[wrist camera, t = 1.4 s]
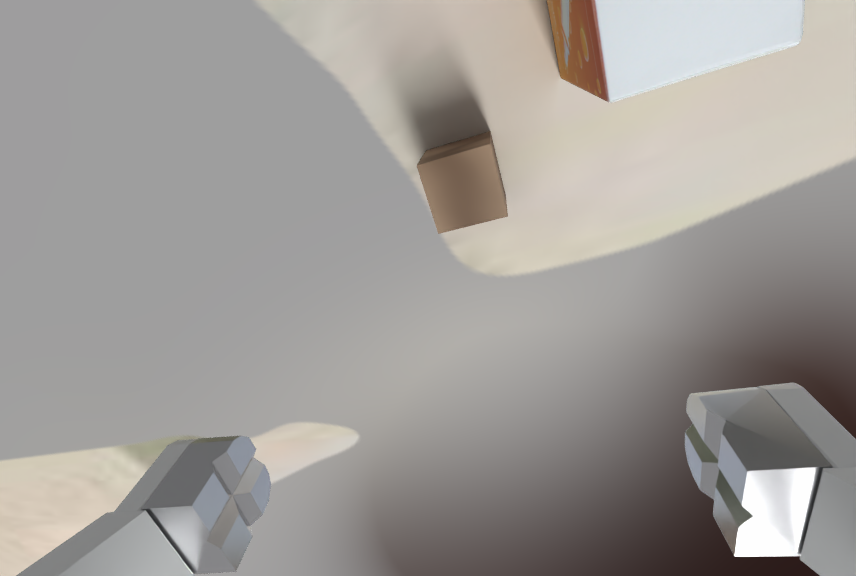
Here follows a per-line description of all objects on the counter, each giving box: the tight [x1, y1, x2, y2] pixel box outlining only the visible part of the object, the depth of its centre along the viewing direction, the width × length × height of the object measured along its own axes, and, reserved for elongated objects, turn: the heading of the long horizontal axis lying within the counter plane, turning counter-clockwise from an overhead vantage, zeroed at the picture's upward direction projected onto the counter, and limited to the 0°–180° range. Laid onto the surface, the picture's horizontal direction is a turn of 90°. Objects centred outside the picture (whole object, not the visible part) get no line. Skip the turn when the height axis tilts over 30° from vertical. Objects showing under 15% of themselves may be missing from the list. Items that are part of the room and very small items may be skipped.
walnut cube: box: [417, 131, 508, 233], centre depth 29 cm, size 4×4×4 cm
